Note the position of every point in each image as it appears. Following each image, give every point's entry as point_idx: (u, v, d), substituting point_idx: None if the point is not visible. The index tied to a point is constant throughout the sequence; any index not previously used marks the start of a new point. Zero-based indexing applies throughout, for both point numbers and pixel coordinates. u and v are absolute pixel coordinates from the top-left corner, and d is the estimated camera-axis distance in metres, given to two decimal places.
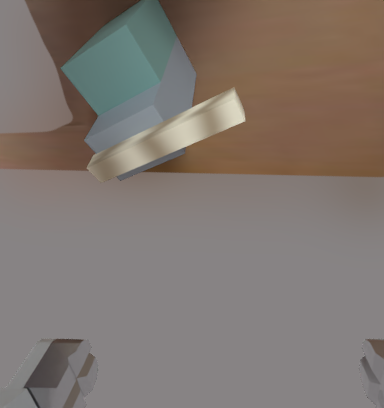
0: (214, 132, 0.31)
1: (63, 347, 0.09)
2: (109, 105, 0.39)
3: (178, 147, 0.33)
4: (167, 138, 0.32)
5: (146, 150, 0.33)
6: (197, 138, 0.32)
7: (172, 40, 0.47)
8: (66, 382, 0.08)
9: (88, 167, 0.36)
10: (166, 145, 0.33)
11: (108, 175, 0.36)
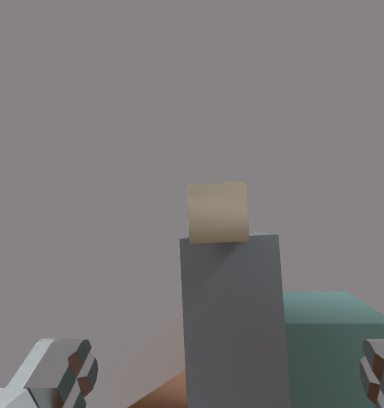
0: None
1: (63, 347, 0.09)
2: None
3: None
4: None
5: None
6: None
7: None
8: (66, 382, 0.08)
9: None
10: None
11: None
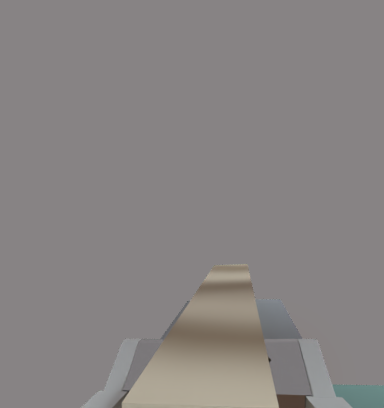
0: (173, 334, 0.08)
1: (152, 348, 0.08)
2: None
3: (199, 298, 0.13)
4: (234, 295, 0.13)
5: (229, 282, 0.16)
6: (190, 314, 0.10)
7: None
8: None
9: (246, 265, 0.23)
10: (217, 292, 0.14)
11: (219, 267, 0.22)
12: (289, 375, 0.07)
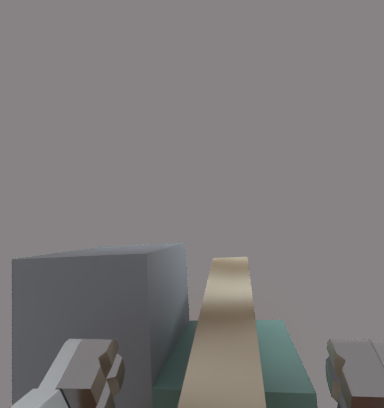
0: None
1: (92, 347, 0.09)
2: (190, 330, 0.21)
3: (200, 346, 0.12)
4: (236, 339, 0.12)
5: (230, 305, 0.15)
6: (191, 392, 0.10)
7: None
8: (98, 383, 0.08)
9: (246, 258, 0.22)
10: (218, 332, 0.13)
11: (219, 265, 0.21)
12: (369, 377, 0.07)
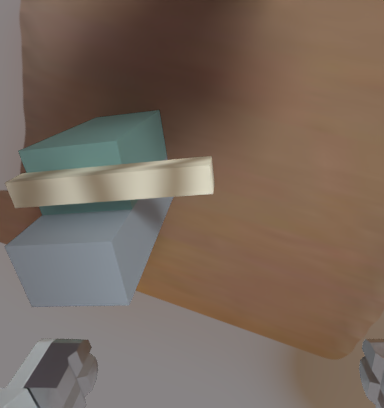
0: (174, 194, 0.26)
1: (63, 347, 0.09)
2: (60, 209, 0.31)
3: (127, 196, 0.27)
4: (118, 182, 0.26)
5: (87, 187, 0.27)
6: (153, 194, 0.27)
7: (161, 160, 0.44)
8: (66, 382, 0.08)
9: (7, 183, 0.28)
10: (115, 190, 0.27)
11: (29, 201, 0.28)
12: None
